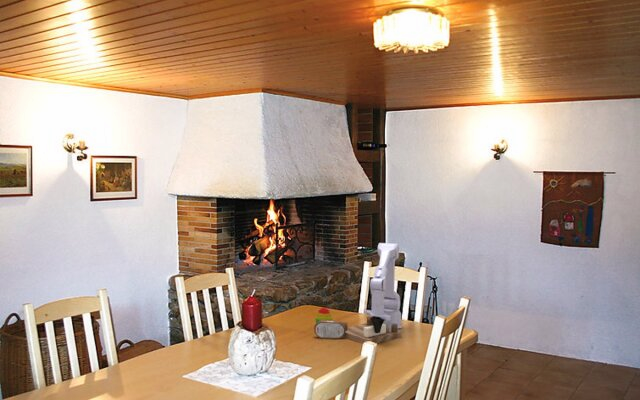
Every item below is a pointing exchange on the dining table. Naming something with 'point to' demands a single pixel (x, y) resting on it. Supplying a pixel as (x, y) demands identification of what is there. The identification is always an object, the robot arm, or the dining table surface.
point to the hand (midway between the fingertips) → (377, 332)
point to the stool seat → (358, 336)
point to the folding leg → (371, 332)
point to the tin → (330, 329)
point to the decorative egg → (323, 315)
